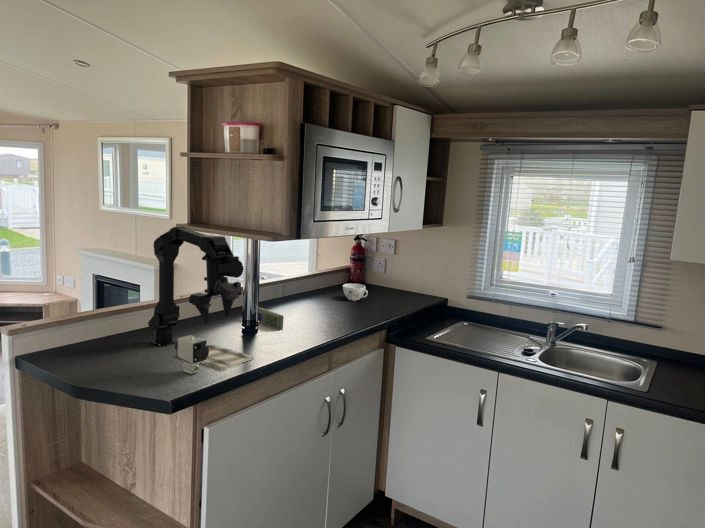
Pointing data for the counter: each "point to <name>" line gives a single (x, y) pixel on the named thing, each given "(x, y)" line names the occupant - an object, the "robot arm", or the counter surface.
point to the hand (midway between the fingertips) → (217, 319)
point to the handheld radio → (270, 319)
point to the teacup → (354, 291)
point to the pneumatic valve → (191, 352)
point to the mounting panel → (224, 357)
